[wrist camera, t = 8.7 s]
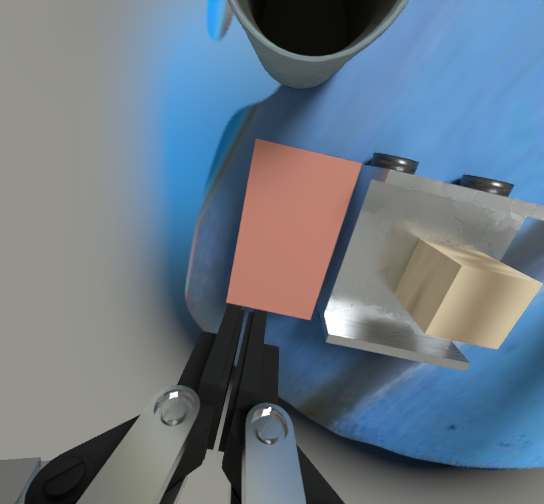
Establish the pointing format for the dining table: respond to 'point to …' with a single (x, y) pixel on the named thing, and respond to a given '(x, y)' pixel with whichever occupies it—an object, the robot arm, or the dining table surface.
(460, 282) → the box
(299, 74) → the grey round bin
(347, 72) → the dining table surface
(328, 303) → the cart
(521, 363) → the dining table surface
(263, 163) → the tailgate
